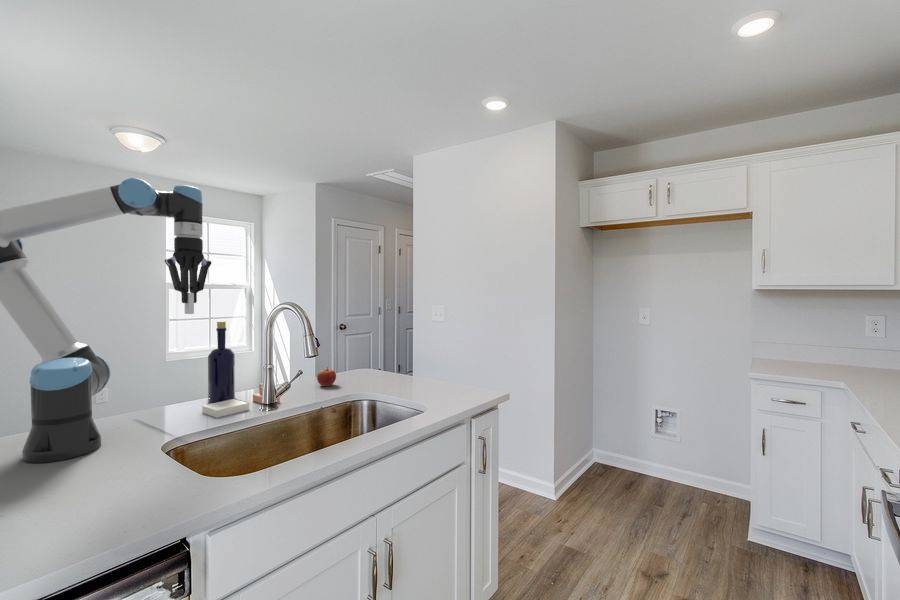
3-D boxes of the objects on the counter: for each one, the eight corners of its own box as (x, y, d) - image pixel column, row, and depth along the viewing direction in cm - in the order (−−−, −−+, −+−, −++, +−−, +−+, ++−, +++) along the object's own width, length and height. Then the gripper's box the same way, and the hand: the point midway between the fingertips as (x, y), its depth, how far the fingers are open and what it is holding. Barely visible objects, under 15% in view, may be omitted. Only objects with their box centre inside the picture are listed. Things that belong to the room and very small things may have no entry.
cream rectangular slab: (216, 417, 138) (216, 409, 138) (202, 412, 143) (202, 405, 143) (249, 409, 147) (249, 402, 147) (234, 405, 152) (234, 398, 152)
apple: (337, 383, 192) (337, 365, 192) (334, 387, 184) (334, 369, 184) (319, 383, 192) (319, 365, 191) (315, 387, 184) (315, 369, 183)
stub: (267, 405, 152) (267, 388, 152) (252, 401, 158) (252, 384, 157) (279, 402, 157) (279, 385, 156) (265, 398, 162) (265, 382, 161)
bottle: (241, 400, 163) (240, 320, 162) (226, 406, 154) (225, 322, 153) (218, 399, 164) (217, 320, 163) (201, 406, 155) (201, 322, 154)
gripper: (170, 234, 126) (171, 315, 127) (216, 238, 137) (216, 313, 137) (159, 236, 130) (160, 314, 131) (204, 240, 141) (205, 312, 142)
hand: (189, 313), depth 134 cm, fingers closed
